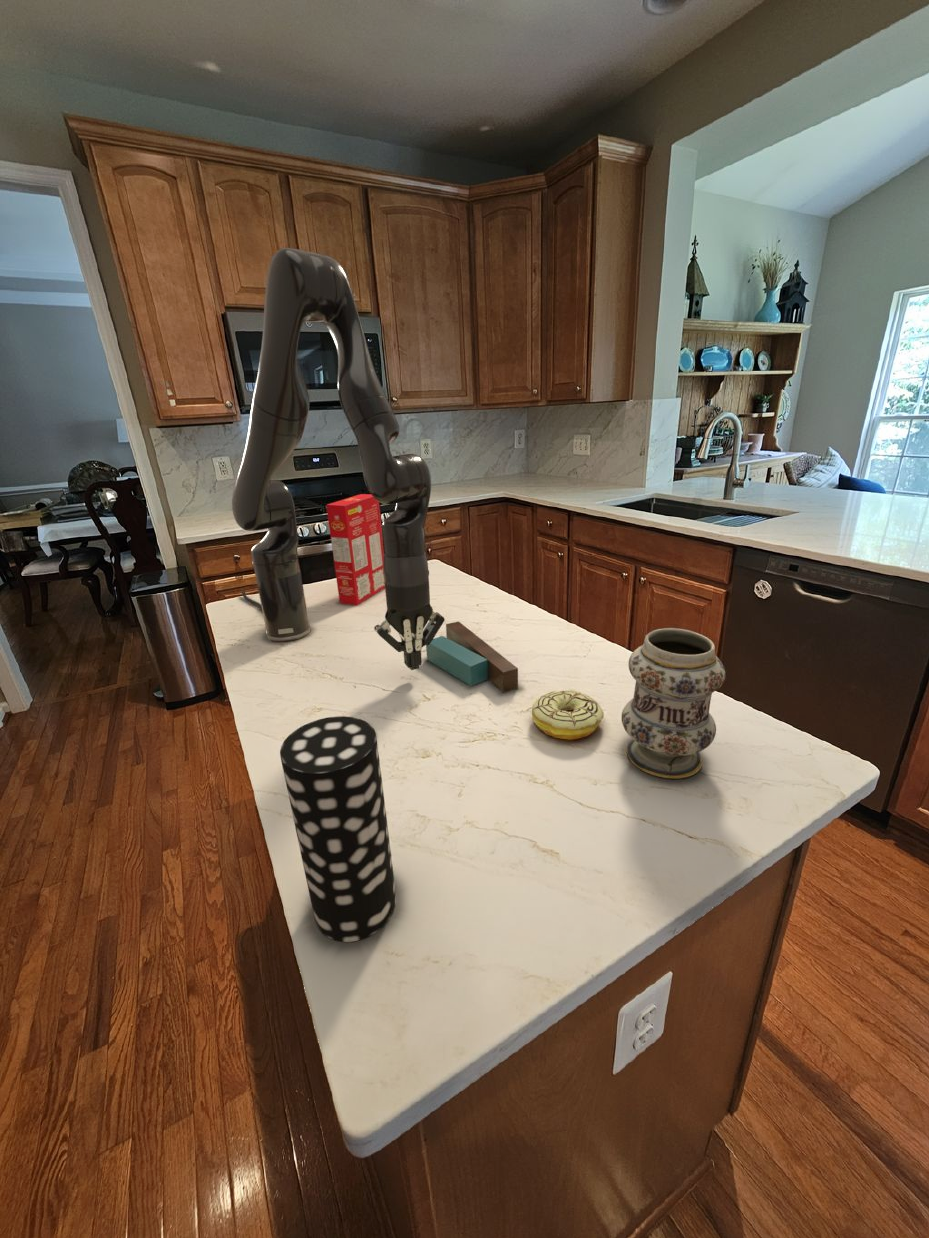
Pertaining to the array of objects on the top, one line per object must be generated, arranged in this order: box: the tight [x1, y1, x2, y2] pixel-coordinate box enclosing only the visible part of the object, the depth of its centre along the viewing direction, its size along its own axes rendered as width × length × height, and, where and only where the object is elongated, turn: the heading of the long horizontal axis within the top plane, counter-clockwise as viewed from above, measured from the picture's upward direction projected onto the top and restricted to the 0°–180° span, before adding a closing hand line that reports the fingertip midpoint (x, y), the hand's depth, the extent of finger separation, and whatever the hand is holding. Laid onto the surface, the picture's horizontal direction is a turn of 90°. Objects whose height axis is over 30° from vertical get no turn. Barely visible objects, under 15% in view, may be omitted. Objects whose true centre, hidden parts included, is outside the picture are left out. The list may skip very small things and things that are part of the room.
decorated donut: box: [531, 689, 605, 741], centre depth 82 cm, size 10×11×4 cm
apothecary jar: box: [621, 627, 726, 780], centre depth 71 cm, size 12×12×18 cm
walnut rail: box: [445, 621, 519, 693], centre depth 102 cm, size 24×3×4 cm, turn 26°
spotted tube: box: [279, 715, 397, 943], centre depth 51 cm, size 8×8×20 cm
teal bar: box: [425, 635, 489, 687], centre depth 100 cm, size 14×4×4 cm, turn 38°
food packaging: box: [325, 493, 385, 606], centre depth 136 cm, size 15×5×25 cm, turn 157°
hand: (413, 667), depth 97 cm, fingers closed
